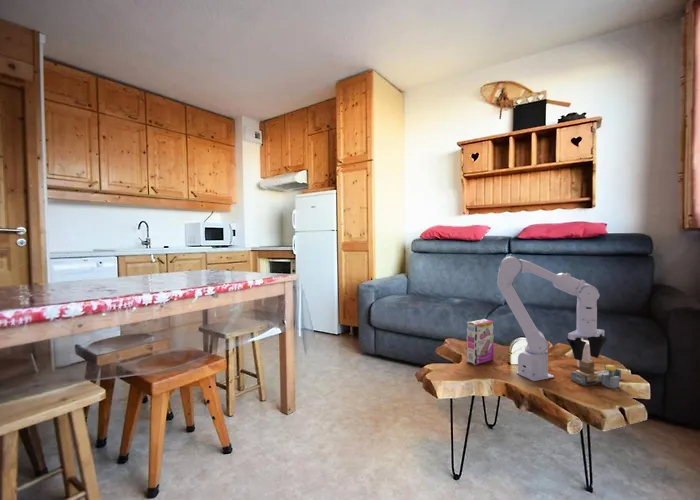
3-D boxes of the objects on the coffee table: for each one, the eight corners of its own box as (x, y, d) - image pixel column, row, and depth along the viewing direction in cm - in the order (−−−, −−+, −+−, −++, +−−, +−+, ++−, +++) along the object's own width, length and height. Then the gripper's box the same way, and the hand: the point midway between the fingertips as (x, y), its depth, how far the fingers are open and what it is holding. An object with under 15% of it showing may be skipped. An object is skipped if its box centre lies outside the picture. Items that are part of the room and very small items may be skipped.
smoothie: (587, 364, 133) (587, 328, 132) (597, 370, 126) (597, 332, 126) (569, 363, 133) (569, 328, 133) (579, 369, 127) (579, 332, 126)
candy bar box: (476, 366, 133) (476, 324, 132) (466, 362, 137) (465, 322, 137) (494, 360, 138) (494, 320, 138) (484, 357, 143) (483, 318, 142)
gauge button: (611, 382, 111) (611, 368, 111) (603, 379, 113) (603, 365, 113) (617, 381, 112) (617, 366, 111) (609, 378, 114) (609, 364, 114)
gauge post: (612, 388, 110) (612, 378, 110) (602, 384, 114) (601, 374, 114) (619, 387, 111) (619, 377, 111) (608, 383, 115) (608, 373, 114)
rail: (585, 385, 113) (585, 377, 113) (571, 380, 118) (571, 371, 118) (621, 378, 118) (621, 370, 118) (606, 373, 123) (606, 365, 123)
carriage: (587, 382, 114) (587, 364, 114) (575, 377, 118) (575, 359, 118) (598, 380, 115) (598, 362, 115) (585, 375, 119) (585, 358, 119)
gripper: (582, 323, 110) (581, 364, 110) (613, 319, 115) (613, 359, 115) (562, 318, 117) (562, 357, 117) (593, 315, 121) (592, 353, 122)
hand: (586, 358), depth 116 cm, fingers open, 7 cm apart
